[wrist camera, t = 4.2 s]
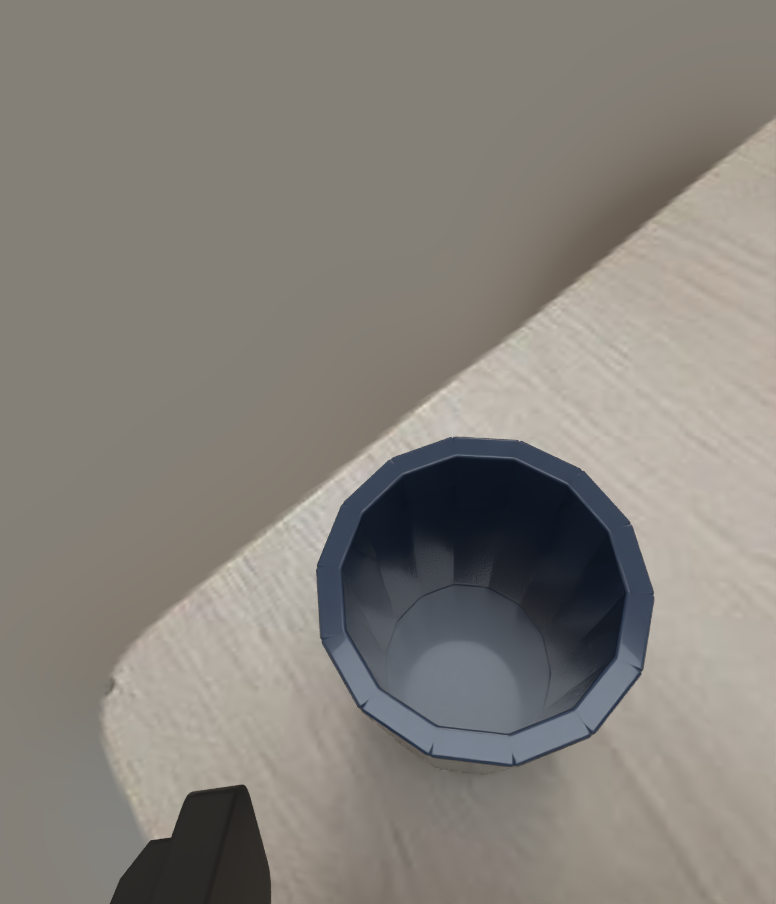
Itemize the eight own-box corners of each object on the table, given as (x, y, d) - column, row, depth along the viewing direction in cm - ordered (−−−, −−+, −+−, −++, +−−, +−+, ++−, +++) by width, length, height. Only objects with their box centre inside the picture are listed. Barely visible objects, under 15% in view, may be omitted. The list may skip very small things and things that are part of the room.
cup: (443, 819, 17) (439, 852, 9) (339, 638, 19) (260, 535, 11) (604, 699, 18) (731, 631, 10) (484, 543, 20) (508, 386, 12)
